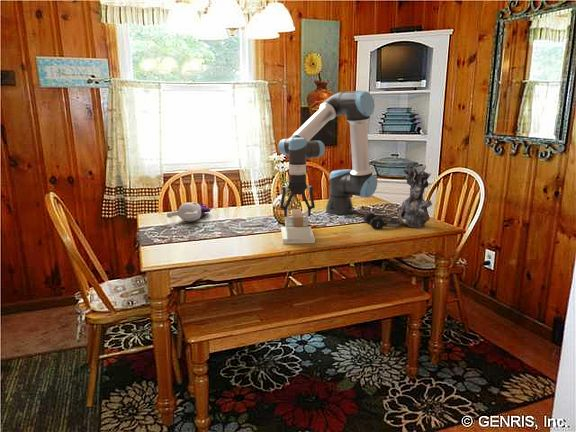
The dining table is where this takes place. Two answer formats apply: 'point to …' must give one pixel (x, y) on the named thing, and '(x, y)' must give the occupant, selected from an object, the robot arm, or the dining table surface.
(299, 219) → the tan wooden plank
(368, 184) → the robot arm
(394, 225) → the headset
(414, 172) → the sculpture
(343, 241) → the dining table surface
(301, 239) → the stand
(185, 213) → the figurine
